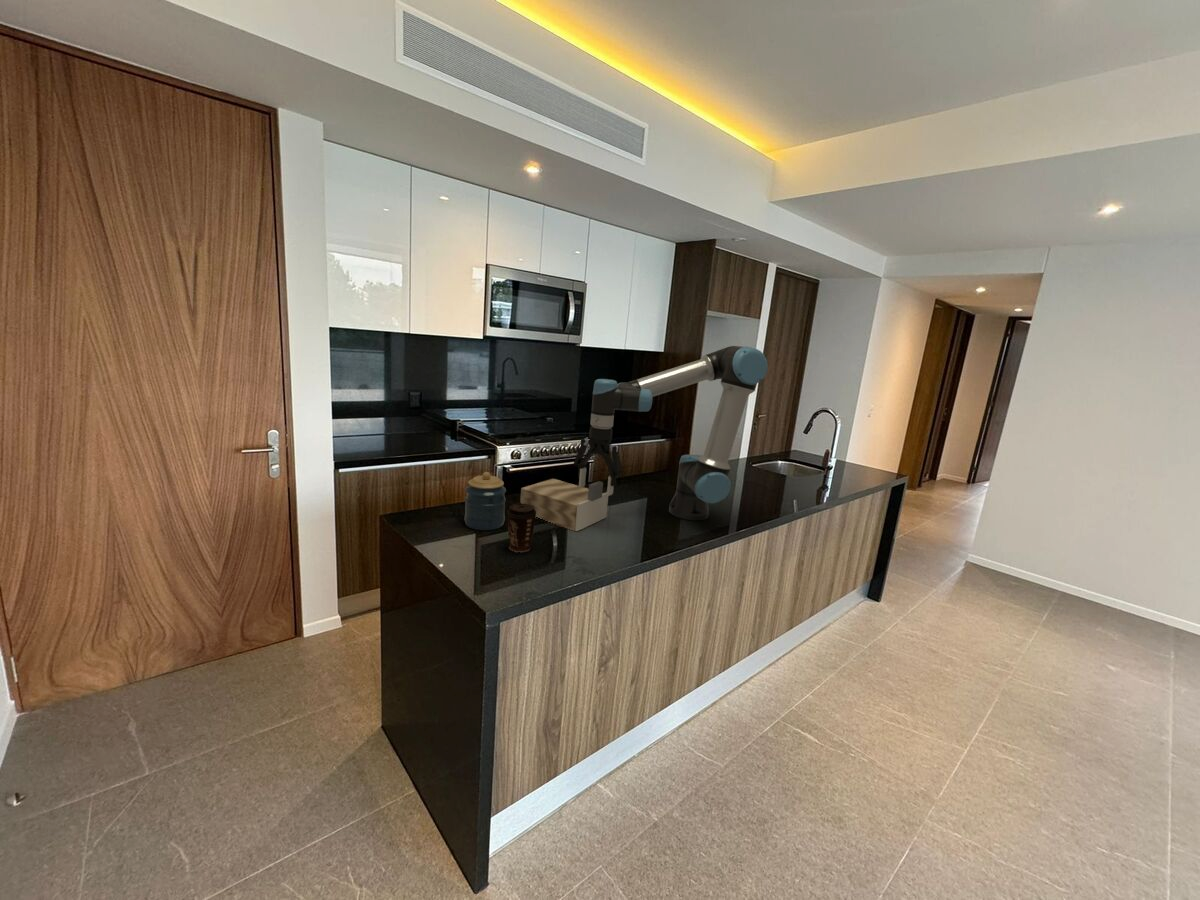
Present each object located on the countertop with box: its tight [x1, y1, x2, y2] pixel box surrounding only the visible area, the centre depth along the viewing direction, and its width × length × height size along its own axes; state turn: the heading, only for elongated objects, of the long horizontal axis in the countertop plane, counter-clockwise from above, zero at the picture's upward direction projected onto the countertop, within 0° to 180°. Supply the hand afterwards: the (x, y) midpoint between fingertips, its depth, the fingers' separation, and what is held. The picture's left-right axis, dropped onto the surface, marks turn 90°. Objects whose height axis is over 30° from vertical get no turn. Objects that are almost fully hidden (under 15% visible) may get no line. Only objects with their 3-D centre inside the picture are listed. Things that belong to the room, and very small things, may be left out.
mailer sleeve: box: [519, 478, 605, 532], centre depth 178 cm, size 24×18×9 cm
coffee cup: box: [506, 502, 537, 553], centre depth 148 cm, size 9×8×13 cm
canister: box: [464, 471, 507, 531], centre depth 163 cm, size 13×13×18 cm
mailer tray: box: [574, 480, 609, 532], centre depth 176 cm, size 25×18×15 cm
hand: (595, 490), depth 169 cm, fingers open, 11 cm apart
